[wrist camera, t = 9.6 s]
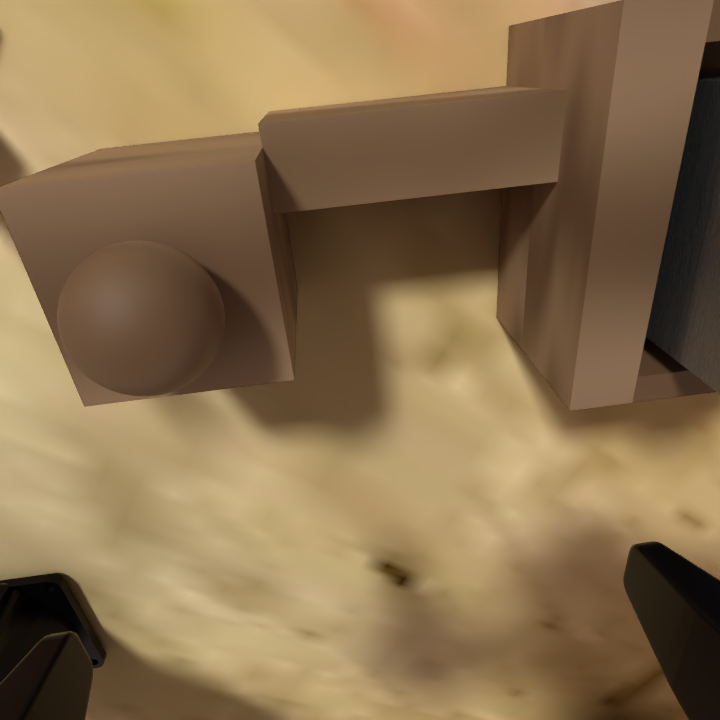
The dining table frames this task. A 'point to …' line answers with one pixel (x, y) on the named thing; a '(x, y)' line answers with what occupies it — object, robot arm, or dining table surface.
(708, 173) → the tall grey upright block
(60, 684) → the robot arm
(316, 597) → the dining table surface
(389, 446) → the dining table surface
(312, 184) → the wooden hollow frame
